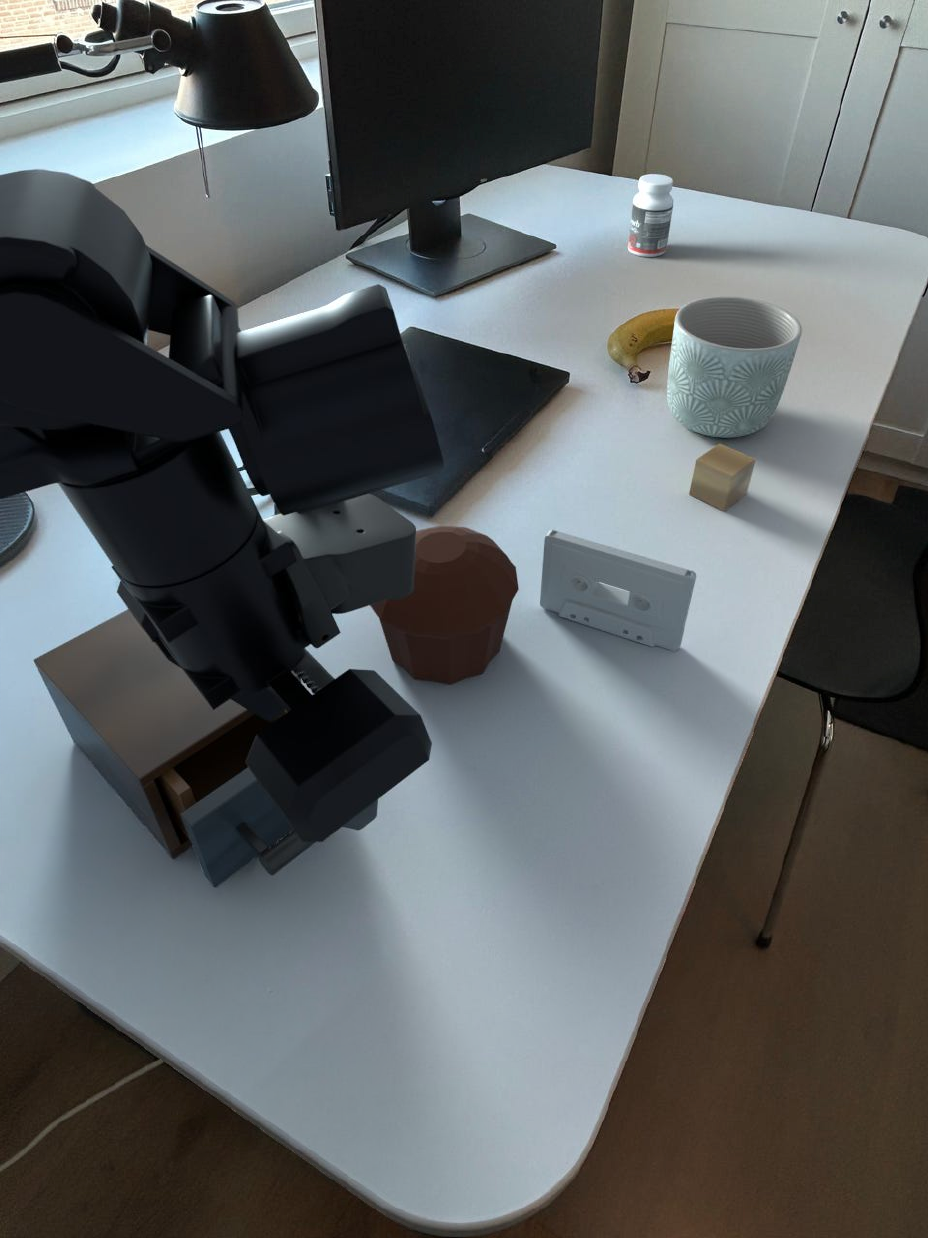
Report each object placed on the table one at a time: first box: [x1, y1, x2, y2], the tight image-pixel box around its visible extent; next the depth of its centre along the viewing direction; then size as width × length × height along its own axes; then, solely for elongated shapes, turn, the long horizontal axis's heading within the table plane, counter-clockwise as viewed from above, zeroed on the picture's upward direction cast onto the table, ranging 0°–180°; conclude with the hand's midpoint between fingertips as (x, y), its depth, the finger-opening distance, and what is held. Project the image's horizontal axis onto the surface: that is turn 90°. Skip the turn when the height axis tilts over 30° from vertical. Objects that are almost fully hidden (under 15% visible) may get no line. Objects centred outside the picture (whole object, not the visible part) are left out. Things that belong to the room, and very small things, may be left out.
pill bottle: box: [627, 173, 674, 258], centre depth 126 cm, size 6×6×10 cm
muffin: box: [369, 525, 520, 686], centre depth 67 cm, size 12×11×10 cm
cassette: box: [539, 529, 697, 652], centre depth 69 cm, size 12×2×8 cm, turn 63°
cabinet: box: [33, 608, 303, 860], centre depth 60 cm, size 14×12×9 cm
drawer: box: [154, 710, 317, 889], centre depth 56 cm, size 16×10×7 cm, turn 45°
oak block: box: [688, 443, 757, 512], centre depth 84 cm, size 4×4×4 cm
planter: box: [666, 295, 803, 439], centre depth 92 cm, size 12×12×11 cm
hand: (318, 765), depth 45 cm, fingers open, 9 cm apart
